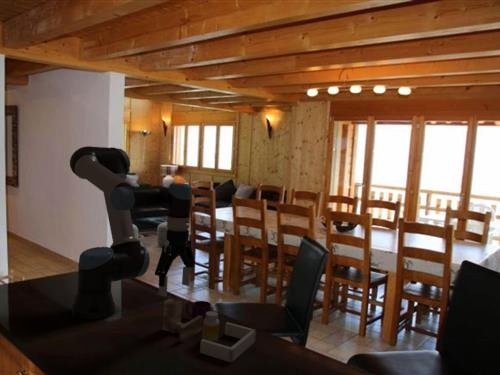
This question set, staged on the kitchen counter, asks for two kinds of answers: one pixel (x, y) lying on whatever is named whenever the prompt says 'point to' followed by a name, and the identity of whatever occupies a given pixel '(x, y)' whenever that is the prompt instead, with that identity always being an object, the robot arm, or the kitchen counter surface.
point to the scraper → (179, 321)
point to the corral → (236, 350)
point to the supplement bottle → (211, 327)
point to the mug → (199, 309)
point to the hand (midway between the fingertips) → (174, 290)
